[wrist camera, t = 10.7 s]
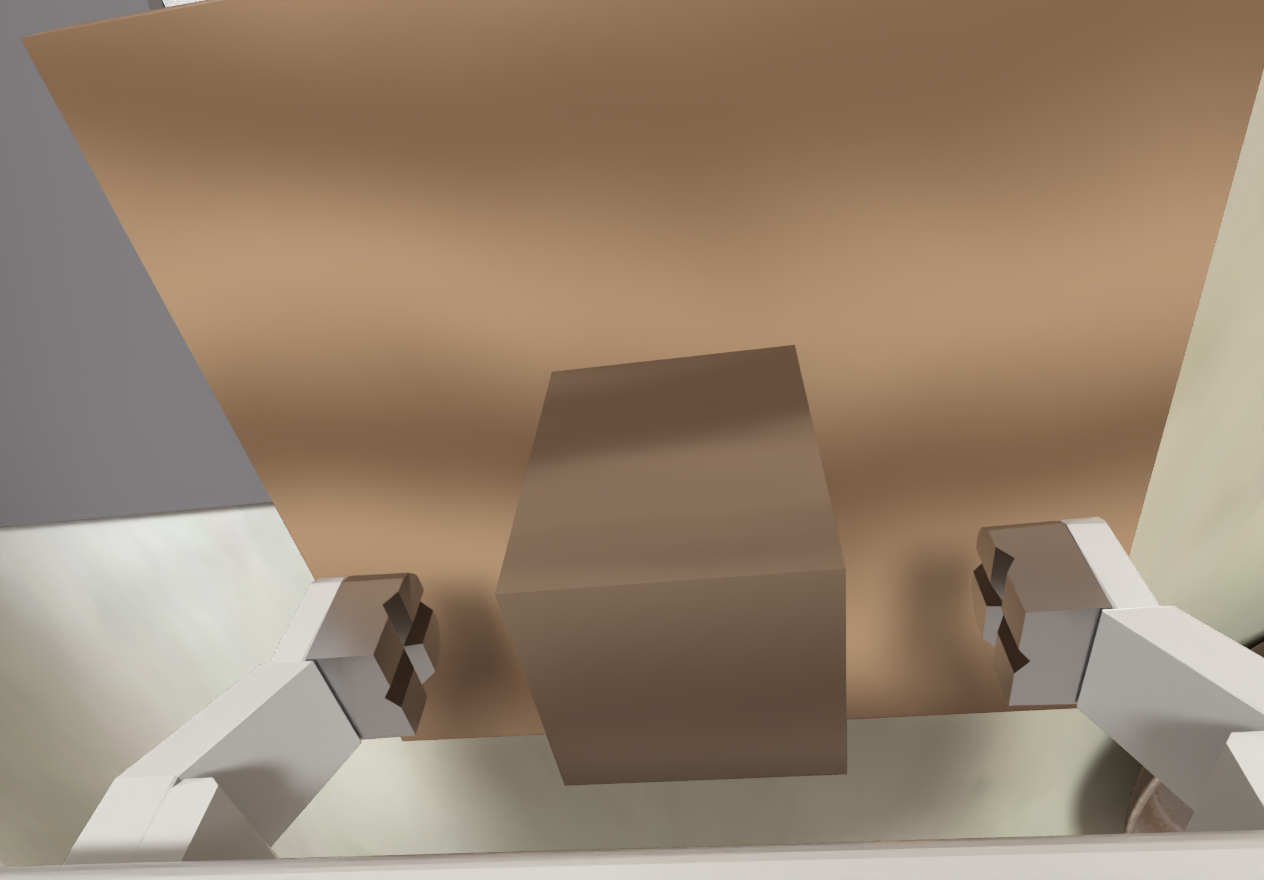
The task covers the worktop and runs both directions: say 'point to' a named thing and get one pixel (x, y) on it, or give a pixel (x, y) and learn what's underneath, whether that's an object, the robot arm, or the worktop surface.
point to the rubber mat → (89, 328)
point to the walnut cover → (678, 322)
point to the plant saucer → (1159, 801)
